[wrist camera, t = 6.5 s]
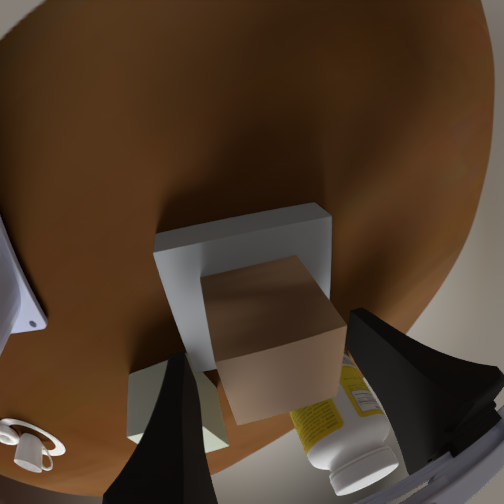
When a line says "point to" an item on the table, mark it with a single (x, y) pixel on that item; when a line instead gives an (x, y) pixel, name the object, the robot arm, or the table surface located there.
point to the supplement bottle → (347, 434)
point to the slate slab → (236, 261)
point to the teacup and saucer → (28, 445)
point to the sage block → (145, 396)
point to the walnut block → (273, 338)
